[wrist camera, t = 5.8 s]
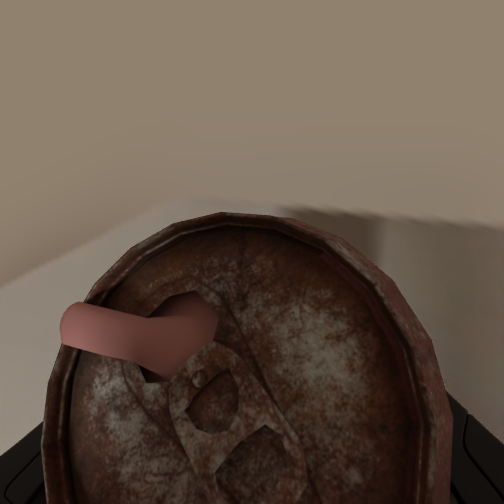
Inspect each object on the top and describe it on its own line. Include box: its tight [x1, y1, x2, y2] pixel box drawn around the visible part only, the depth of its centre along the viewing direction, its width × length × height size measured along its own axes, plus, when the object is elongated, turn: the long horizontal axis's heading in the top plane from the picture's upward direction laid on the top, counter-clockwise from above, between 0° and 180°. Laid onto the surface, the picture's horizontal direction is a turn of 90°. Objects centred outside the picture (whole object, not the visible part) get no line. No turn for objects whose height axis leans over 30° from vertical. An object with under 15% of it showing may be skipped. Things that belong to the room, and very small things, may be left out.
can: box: [41, 212, 453, 504], centre depth 10 cm, size 6×6×14 cm
